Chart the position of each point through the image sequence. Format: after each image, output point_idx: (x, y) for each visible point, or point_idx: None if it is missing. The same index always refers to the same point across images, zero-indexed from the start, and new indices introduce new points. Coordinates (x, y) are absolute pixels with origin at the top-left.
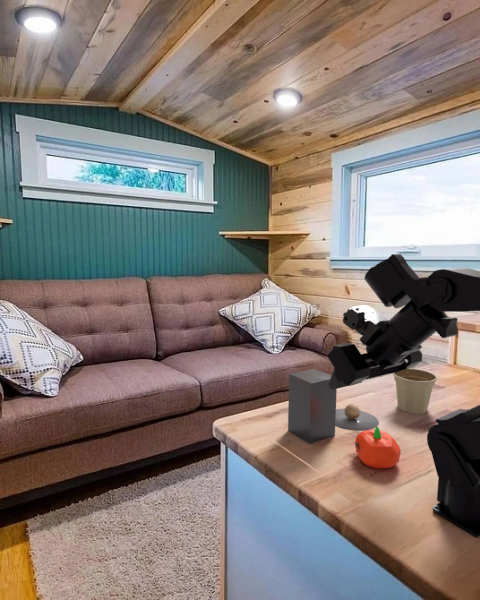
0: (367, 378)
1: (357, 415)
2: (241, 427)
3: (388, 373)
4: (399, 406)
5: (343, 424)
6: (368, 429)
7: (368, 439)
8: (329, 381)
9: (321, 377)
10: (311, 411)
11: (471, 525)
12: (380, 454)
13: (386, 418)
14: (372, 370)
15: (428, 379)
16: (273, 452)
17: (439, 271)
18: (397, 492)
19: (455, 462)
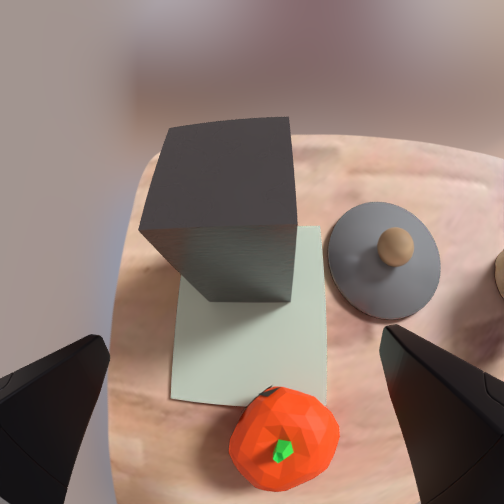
0: (383, 365)
1: (397, 266)
2: None
3: (421, 497)
4: (498, 265)
5: (352, 267)
6: (387, 316)
7: (250, 443)
8: (73, 344)
9: (232, 192)
10: (184, 274)
11: None
12: (243, 475)
13: (459, 282)
14: (413, 398)
15: None
16: (141, 279)
17: None
18: (230, 501)
19: None
